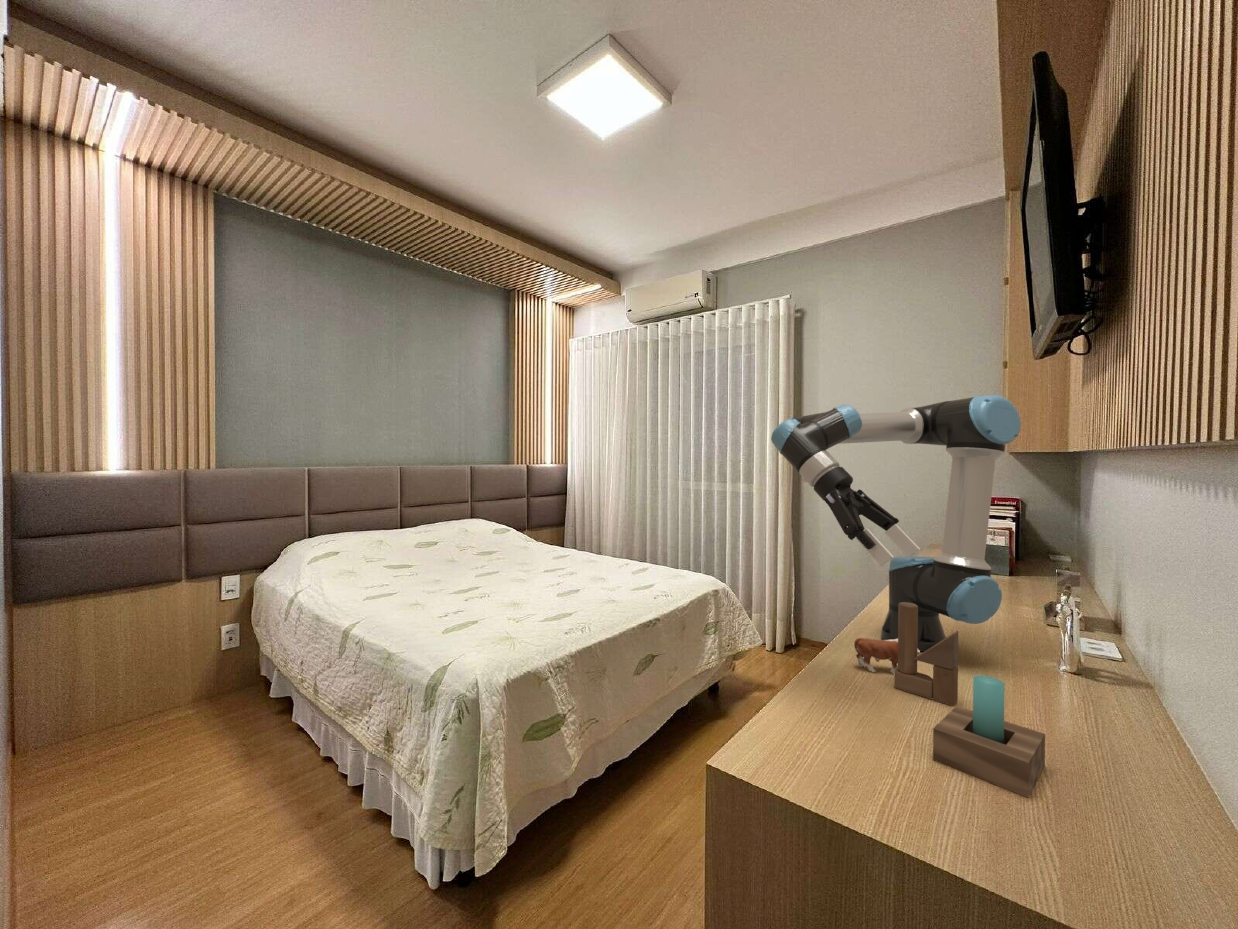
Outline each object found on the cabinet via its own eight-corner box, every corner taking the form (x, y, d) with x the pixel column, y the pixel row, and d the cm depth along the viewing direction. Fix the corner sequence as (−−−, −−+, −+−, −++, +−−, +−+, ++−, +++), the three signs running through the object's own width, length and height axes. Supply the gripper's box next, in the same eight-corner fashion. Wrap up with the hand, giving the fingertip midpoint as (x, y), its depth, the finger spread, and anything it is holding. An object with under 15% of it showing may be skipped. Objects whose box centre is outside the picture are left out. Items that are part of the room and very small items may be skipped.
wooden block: (952, 707, 98) (954, 615, 98) (893, 688, 106) (894, 603, 106) (958, 701, 101) (959, 611, 101) (899, 683, 108) (900, 600, 108)
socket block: (956, 734, 88) (956, 705, 88) (1044, 765, 79) (1045, 734, 79) (932, 759, 80) (933, 728, 80) (1028, 798, 71) (1028, 762, 71)
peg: (976, 746, 82) (977, 673, 82) (1006, 757, 79) (1007, 681, 79) (969, 755, 80) (970, 679, 80) (1000, 766, 77) (1000, 688, 77)
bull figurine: (921, 679, 110) (922, 643, 110) (854, 671, 115) (855, 635, 115) (916, 672, 115) (917, 636, 115) (852, 663, 119) (852, 629, 119)
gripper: (841, 487, 117) (910, 561, 106) (784, 490, 101) (858, 577, 90) (864, 465, 113) (939, 539, 102) (809, 464, 97) (890, 552, 86)
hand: (901, 557), depth 96 cm, fingers open, 13 cm apart
